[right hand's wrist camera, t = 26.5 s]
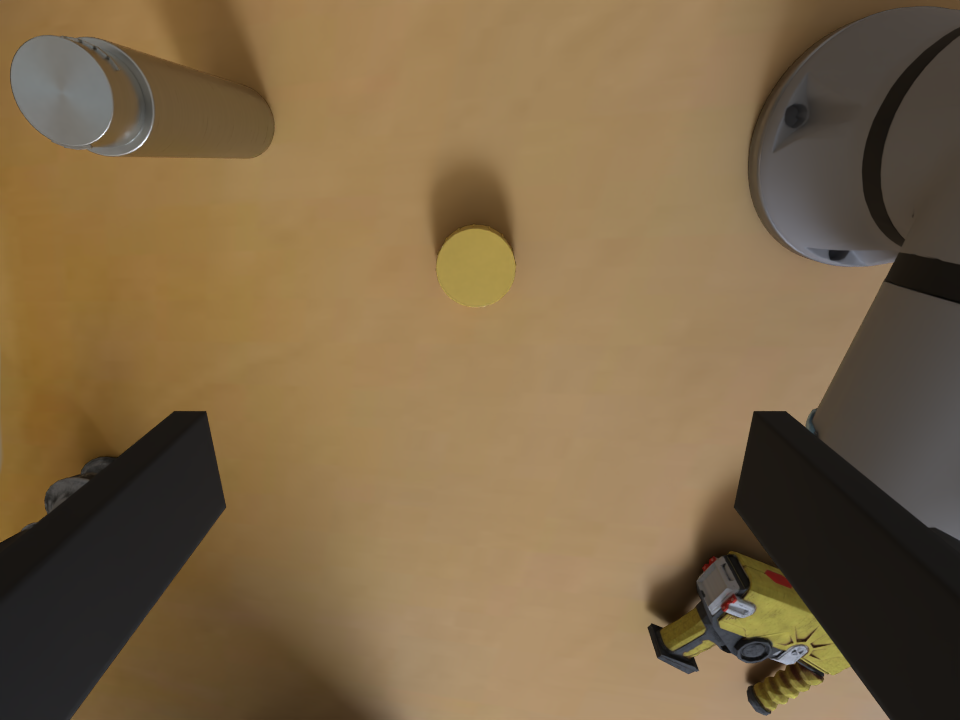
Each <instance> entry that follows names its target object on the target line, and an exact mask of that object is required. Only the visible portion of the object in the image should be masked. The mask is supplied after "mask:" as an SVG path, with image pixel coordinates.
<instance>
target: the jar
mask: <svg viewBox="0 0 960 720" xmlns="http://www.w3.org/2000/svg"><path fill="white" fill-rule="evenodd" d="M10 81H11V88H12V92H13V95H14V98H15V101H16V103H17V105H18V107H19V109H20V110H21V112H22V114H23V115H24V117H25V118H26V119H27V120H28V122H29V123H30V124H31V125H32V126H33V127H34V128H35V129H36V130H37V131H39V132H40V133H41V134H43V135H44V136H46V137H47V138H49V139H50V140H52V142H54V143H56V144H59V145H61V146H64V148H70V149H77V150H82V149H87V150H89V151H91V152H93V153H96V154H99V155H104V156H111V157H172V158H241V159H246V158H253V157H256V156H258V155H260V154H262V153H263V152H264V151H265V150H266V149H267V148H268V146H269V145H270V143H271V141H272V138H273V134H274V120H273V116H272V113H271V110H270V108H269V106H268V104H267V103H266V101H265V100H264V99H263V98H262V96H261V95H259V94H258V93H257V92H256V91H254V90H253V89H251V88H249V87H247V86H244V85H241V84H238V83H235V82H232V81H229V80H226V79H223V78H220V77H217V76H213V75H210V74H207V73H204V72H201V71H198V70H195V69H192V68H189V67H186V66H183V65H180V64H177V63H173V62H170V61H167V60H164V59H161V58H158V57H155V56H152V55H149V54H146V53H143V52H140V51H136V50H133V49H130V48H127V47H124V46H121V45H118V44H115V43H112V42H109V41H106V40H103V39H99V38H94V37H78V38H72V37H66V36H53V35H42V36H38V37H35V38H32V39H30V40H28V41H27V42H25V43H24V44H23V45H22V46H21V47H20V48H19V49H18V50H17V52H16V54H15V56H14V58H13V61H12V64H11V69H10Z"/></svg>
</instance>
